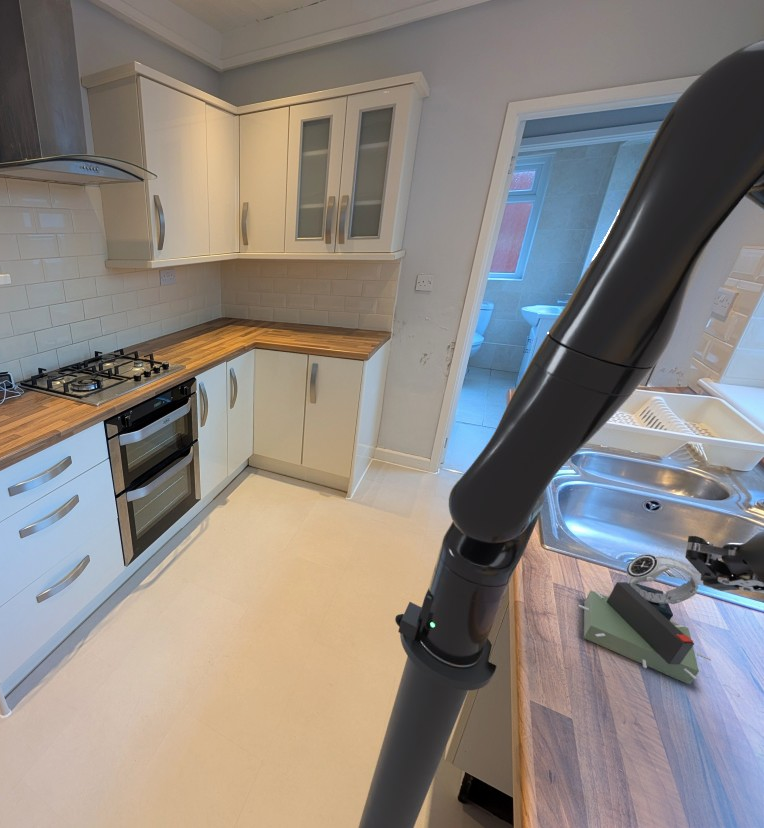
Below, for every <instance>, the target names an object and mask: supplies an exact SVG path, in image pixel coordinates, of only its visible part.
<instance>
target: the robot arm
mask: <svg viewBox="0 0 764 828" xmlns="http://www.w3.org/2000/svg"><path fill="white" fill-rule="evenodd" d="M744 197H745V198H747V199H748V200H750V202H752V203H754V204H755V205H756V206H758V207H759V208H760V209H762V210H763V211H764V38H763V39H759V40H756V41H754V42H750V43H749V44H746V45H744V46H742V47H740V48H738V49H736V50H734V51H733V52H731V53H729V54H727V55H725V56H724V57H723V58H721V59H720V60H718V61H717V62H715V63H714V64H713V65H711V66H710V67H708V68H707V69H706V70H705V71H704V72H703V73H702V74H701V75H699V77H697V78H696V79H695V80H694V81H693V82H691V84H690V85H689V86H688V87H687V88H686V89H685V91H684V92H683V93H682V94H681V95H680V96H679V97H678V99H677V100H676V101H675V103H674V104H673V105H672V107H671V108H670V110H669V111H668V112H667V114H666V115H665V117H664V119H662V122H661V124H659V127H658V129H657V130H656V133H655V135H654V136H653V139H652V141H651V143H650V145H649V147H648V148H647V150H646V152H645V155H644V157H643V159H642V161H641V163H640V165H639V167H638V169H637V172H636V174H635V176H634V178H633V180H632V182H631V184H630V187H629V189H628V191H627V193H626V195H625V197H624V199H623V201H622V204H621V206H620V207H619V210H618V212H617V214H616V216H615V218H614V220H613V222H612V224H611V226H610V228H609V230H608V232H607V234H606V236H605V237H604V239H603V241H602V243H601V244H600V245H599V246H600V247H599V248H598V249H597V251H596V252H595V254H594V256H593V257H592V259H591V261H590V262H589V264H588V266H587V268H586V269H585V271H584V273H583V275H582V276H581V278H580V280H579V282H578V283H577V285H576V286H575V288H574V290H573V292H572V294H571V295H570V297H569V298H568V301H567V302H566V304H565V305H564V307H563V309H562V310H561V312H560V314H559V315H558V316H557V318H556V320H555V321H554V322H553V324H552V326H551V327H550V329H549V330H548V332H547V334H545V336H544V339H543V340H542V342H541V343H540V345H539V347H538V348H537V350H536V352H535V353H534V355H533V357H532V358H531V360H530V362H529V364H528V366H527V367H526V370H525V371H524V373H523V375H522V377H521V378H520V381H519V383H518V385H517V386H516V388H515V390H514V392H513V394H512V396H511V398H510V399H509V402H508V403H507V406H506V407H505V409H504V412H503V414H502V416H501V418H500V421H499V422H498V425H497V427H496V428H495V431H494V432H493V434H492V436H491V437H490V439H489V441H488V442H487V444H486V445H485V446H484V448H483V450H481V452H480V453H479V455H478V456H477V457H476V458H475V460H474V461H473V463H472V464H471V465H470V466H469V468H468V469H467V470H466V471H465V472H464V473H463V475H461V476H460V478H459V479H458V480H457V481H456V482H455V484H454V485H453V486H452V488H451V490H450V492H449V495H448V511H449V512H448V513H449V515H450V518H451V520H452V522H451V523H450V526H449V527H448V528H447V530H446V532H445V534H444V535H443V539H442V541H441V544H440V547H439V551H438V554H437V557H436V558H437V559H436V562H435V565H434V569H433V572H432V576H431V579H430V582H429V586H428V588H427V591H426V593H425V595H424V598H423V601H422V605H421V606H420V605H417V604H416V603H413V602H411V601H409V602H408V605H407V606H406V609H405V611H404V613H401V614H397V615H396V616H395V619H394V621H395V623H396V625H397V626H398V633H399V634H400V633H401V634H403V635H405V636H407V637H408V638H410V639H412V640H416V641H418V642H419V643H420V644H421V646H422V647H423V648H424V650H425V651H426V652H427V653H428V654H429V655H431V656H432V657H433V658H434V659H436V660H437V661H439V662H441V663H443V664H445V665H447V666H450V667H453V668H459V669H467V668H471V667H473V666H475V665H476V664H477V663H478V662H479V660H480V658H481V655H482V652H483V648H484V646H485V643H486V641H487V638H488V639H489V635H490V633H491V631H492V628H493V625H494V623H495V621H496V618H497V615H498V612H499V610H500V608H501V606H502V603H503V600H504V597H505V595H506V593H507V589H508V587H509V585H510V583H511V580H512V578H513V575H514V573H515V570H516V568H517V567H518V564H519V562H520V561H521V559H522V557H523V555H524V553H525V551H526V549H527V546H528V544H529V541H530V539H531V536H532V535H533V533H534V529H535V527H536V525H537V523H538V520H539V518H540V515H541V513H542V510H543V507H544V503H545V491H546V489H547V488H548V487H549V485H550V483H551V482H552V480H553V479H554V478H555V476H557V474H558V472H559V471H560V470H561V469H562V467H563V466H564V465H565V464H566V463H567V462H568V461H569V460H570V459H571V458H573V456H574V455H576V453H577V452H579V451H580V450H581V449H582V448H583V447H584V446H585V445H586V444H587V443H588V442H589V441H590V440H591V439H592V438H593V437H594V436H595V435H596V434H597V433H598V432H599V431H600V430H601V429H602V428H603V427H604V426H605V425H606V424H607V423H608V422H609V421H610V420H611V418H612V417H613V416H614V415H615V414H616V413H617V412H618V410H620V408H621V407H622V406H623V405H624V404H625V403H626V402H627V401H628V400H629V398H631V396H632V395H633V394H634V393H635V391H636V390H637V388H638V387H639V386H640V385H641V384H642V382H643V381H644V380H645V378H646V377H647V376H648V374H650V372H651V371H652V369H654V367H655V365H656V364H657V363H658V362H659V361H660V358H661V357H662V356H663V354H664V352H666V349H667V348H668V346H669V344H670V343H671V340H672V338H673V336H674V332H675V330H676V328H677V324H678V321H679V319H680V315H681V312H682V307H683V304H684V300H685V296H686V293H687V290H688V287H689V283H690V280H691V277H692V274H693V272H694V270H695V267H696V266H697V263H698V261H699V259H700V258H701V256H702V254H703V253H704V251H705V249H706V248H707V246H708V245H709V243H710V242H711V240H712V239H713V237H714V236H715V235H716V234H717V232H718V231H719V229H721V227H722V226H723V224H724V223H725V222H726V220H727V219H728V218H729V216H731V214H732V213H733V211H734V210H735V209H736V208H737V206H738V205H739V204H740V202H741V201H742V200H743V199H744ZM684 557H685V559H686V560H687V561H688V562H689V563H690V564H691V565H692V567H694V568H695V570H696V571H697V572H698V573H699V574H700V581H702V585H703V586H706V587H708V588H711V589H713V590H717V591H720V592H725V591H738V590H741V591H743V592H747V593H761V594H764V529H763V530H761V531H759V532H758V533H756V534H755V535H754V536H752V537H751V538H750V539H749V540H747V541H746V542H727V543H725V544H724V545H723V546H715V544H714V543H713V542H707V540H706V539H705V538H703V537H700V536H698V535H697V536H696V535H689V536H688V537H687V542H686V548H685V556H684ZM719 559H720V560H719Z"/></svg>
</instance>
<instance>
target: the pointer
mask: <svg viewBox="0 0 764 828" xmlns="http://www.w3.org/2000/svg"><path fill="white" fill-rule="evenodd" d="M628 583H629V582H627V581H617V582H616V583H615V585H614V587H613V589H612V591H611V592H610V595H609V596H608V597H609V598H608V600H607V603H608V604H609V605H610V606H611V607H612V608H613V609H614V610H615V611H616V612H617V613H618V614H619V615H620V616H621V617H622V618H623V619H624V620H625V621H626V622H627V623H628V624H629V625H630V626H631V627H632V628H633V629H634V630H635V631H636V632H637V633H638V634H639V635H640V636H641V637H642V638H643V639H644V640H645V641H646V642H647V643H648V644H649V645H650V646H651V647H652V648H653V649H654V650H655V651H656V652H657V653H658V654H659V655H660V656H661V657H662V658H663V659H664V660H665V661H666V662H667V663H668V664H680V663H681V662H682V661H683V659H684V658H685V656H686V655H687V654H688V652H689V651H690V649H691V648H692V646H693V647H694V645H695V643H694V640H692V638H691V639H690V638H689V637H688V636H687V635H684V634H683V633H682V632H681V631H680V630H679V629H678V628H677V627H676V626H675V625H673V624H672V623H671V622H670V621H671V620H670V621H669V620H668V619H667V618H666V617H665V616H663V615H662V614H661V613H660V612H659V611H658V610H657V609H656V608H655V607H654V606H652V605H651V604H650V603H649V602H648V601H647V600H646V599H645V598H644V597H643V596H641V595H640V594H639V593H638V592H637V591H636V590H635V589H634V588H633V587H631V586H630V585H629V584H628Z"/></svg>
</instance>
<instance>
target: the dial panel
mask: <svg viewBox="0 0 764 828" xmlns="http://www.w3.org/2000/svg"><path fill="white" fill-rule="evenodd" d="M608 598H609V596H607V595H604V594H602V593H600V592H598V591H594V590H592V589H590V591H589V592H588V594H587V596H586V598H585V599H584V603H583V604H584V605H582V604H578V605H577V606H578V607H579V608H581V609H583V639H585V640H586V641H589V642H591V643H594V644H596V645H599V646H601V647H603V648H605V649H607V650H610V651H611V652H614V653H616V654H618V655H621V656H623V657H625V658H627V659H630V660H632V661H634V662H637V663H639V664H641V665H642V667H643V668H644V669H647V668H650V669H653V670H655V671H658V672H660V673H662V674H664V675H667V676H669V677H671V678H673V679H675V680H678V681H680V682H683V683H685V684H687V685H691V683H692V682H693V681H694V680H697V679H698V678H697V675H698V673H699V672H700V669H699V665H698V661H697V657H696V656H698V657H701V658H703V659H706V660H707V661H710V662H711V661H712V658H711V657H710V656H706V655H704V654H702V653H700V652H697V653H695V649H694V645H693V646H692V648H691V649H690V651H689V652H688V654H687V655H686V656H685V658H684V659H683V661H682V662H681V663H680V664H668V663H667V662H666V661H665V660H664V659H663V658H662V657H661V656H660V655H659V654H658V653H657V652H656V651H655V650H654V649H653V648H652V647H651V646H650V645H649V644H648V643H647V642H646V641H645V640H644V639H643V638H642V637H641V636H640V635H639V634H638V633H637V632H636V631H635V630H634V629H633V628H632V627H631V626H630V625H629V624H628V623H627V622H626V621H625V620H624V619H623V618H622V617H621V616H620V615H619V614H618V613H617V612H616V611H615V610H614V609H613V608H612V607H611V606H610V605H609V604H608V603H607V600H608ZM670 622H671V623H672V624H673V625H675V626H676V627H677V628H678V629H679V630H680V631H681V632H682V633H683V634H684V635H687V636H688V637H689V638H690V639H691V640H692V636H691V633H690V629H689V627H688V626H685V625H684V624H679V623H676V622H674V621H671V620H670Z"/></svg>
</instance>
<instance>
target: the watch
mask: <svg viewBox="0 0 764 828" xmlns="http://www.w3.org/2000/svg"><path fill="white" fill-rule="evenodd" d="M671 569H675V570H677V571H681V572H683V573H685V574H687V575H688V576H689V577H690V580H687V582H684V583H682V584H681V585H679V586H677V587H675V588H673V589H670V590H667V591H665V593H664V591H662V590H659V589H657V588H653V587H649V586H646V585H643V584H640V583H648V582H650V583H653V582H654V581H655V580H656V579H658V578H659V577H660V576H662V574H663V573H665V572H668V571H670V570H671ZM626 577H627V580H628V582H627V583H628V584H629V585H630V586H631V587H633V588H634V589H635V590H636V591H637V592H638V593H639V594H640V595H641V596H643V597H644V598H645V599H646V600H647V601H648V602H649V603H650V604H651V605H652V606H654V607H655V608H656V609H657V610H658V611H659V612H660V613H661V614H662V615H663V616H665V617H666V618H667V619H668V620H669V621H671V619H672V618H673V616H674V613H673V610H672V608H671V607H670V605H676V604H679V603H682V602H684V601H687V600H689V599H691V598H692V597H694V596H695V595H696V594H697V591H698V589H699V581H698V579H697V578H696V576H695V575H694V573H693V571H692V570H691V569H690V568H689V567H688V565H686V564H685V563H684V562H682V561H680V560H678V559H675V558H672V557H668V556H663V555H654V554H642V555H639V556H637V557H635V558H633V559H632V560H631V561H629V563H628V565H627V567H626Z"/></svg>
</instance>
